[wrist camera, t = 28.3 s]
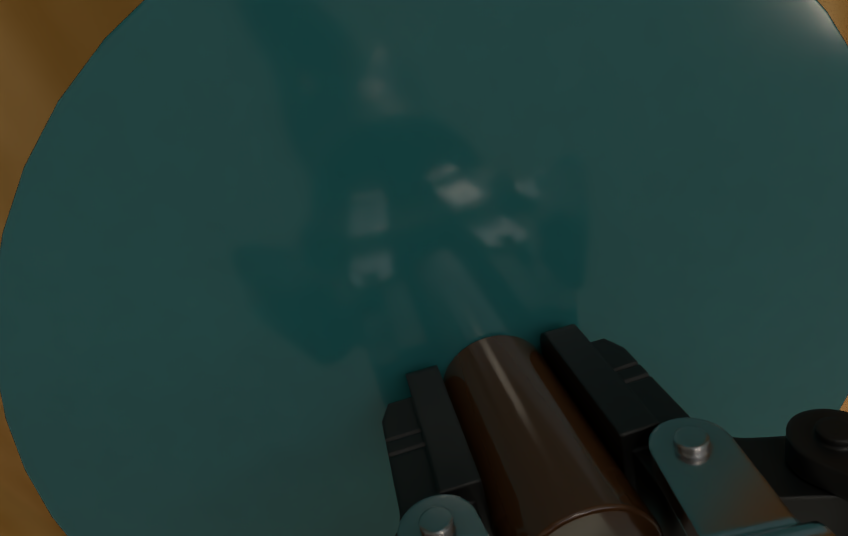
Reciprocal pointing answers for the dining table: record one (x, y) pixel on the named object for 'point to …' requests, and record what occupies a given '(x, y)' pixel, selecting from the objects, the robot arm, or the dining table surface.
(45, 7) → the dining table surface
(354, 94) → the lid
